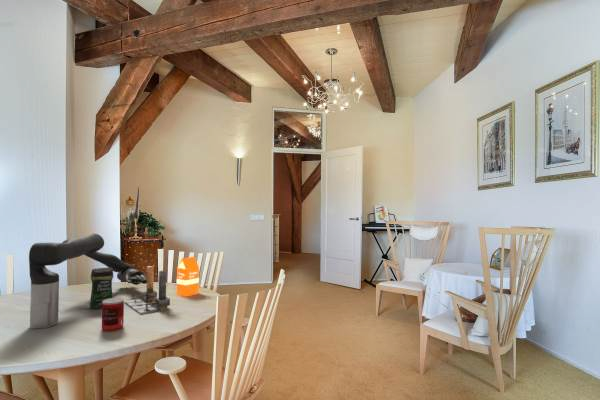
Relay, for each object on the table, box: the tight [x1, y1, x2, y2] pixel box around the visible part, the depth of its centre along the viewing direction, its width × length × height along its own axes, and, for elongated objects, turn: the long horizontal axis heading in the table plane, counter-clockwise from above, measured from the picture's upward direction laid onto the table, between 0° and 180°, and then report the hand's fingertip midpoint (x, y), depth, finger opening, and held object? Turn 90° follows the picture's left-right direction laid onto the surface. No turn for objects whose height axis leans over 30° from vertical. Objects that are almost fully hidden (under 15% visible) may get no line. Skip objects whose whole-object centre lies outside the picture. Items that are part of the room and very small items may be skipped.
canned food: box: [101, 297, 125, 332], centre depth 136 cm, size 8×8×11 cm
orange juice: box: [176, 256, 200, 297], centre depth 191 cm, size 8×9×20 cm
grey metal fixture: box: [124, 270, 171, 315], centre depth 167 cm, size 25×13×18 cm, turn 42°
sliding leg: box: [133, 265, 158, 302], centre depth 173 cm, size 5×10×16 cm, turn 132°
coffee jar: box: [89, 267, 114, 310], centre depth 165 cm, size 10×8×19 cm
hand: (145, 281), depth 180 cm, fingers closed
